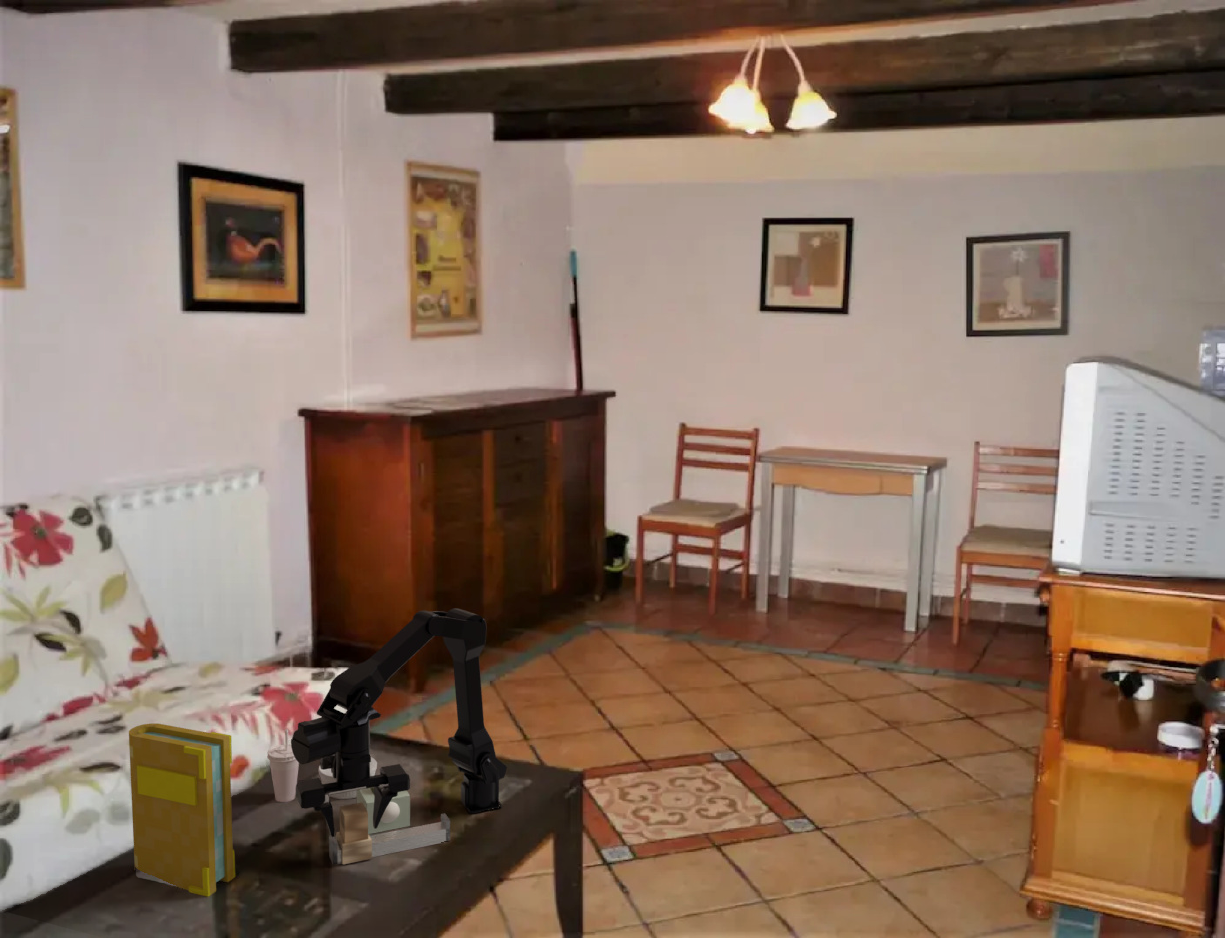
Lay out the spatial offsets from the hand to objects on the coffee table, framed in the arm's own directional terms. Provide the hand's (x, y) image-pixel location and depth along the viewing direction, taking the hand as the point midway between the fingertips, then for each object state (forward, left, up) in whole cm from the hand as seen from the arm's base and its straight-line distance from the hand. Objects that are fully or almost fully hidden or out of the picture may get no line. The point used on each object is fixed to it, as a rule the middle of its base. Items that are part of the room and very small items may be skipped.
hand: (353, 831), depth 187 cm
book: (+28, -5, -5) cm, 29 cm away
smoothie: (+7, -28, -5) cm, 29 cm away
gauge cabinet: (-8, -11, -5) cm, 14 cm away
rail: (-6, 0, -5) cm, 8 cm away
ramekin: (-5, -27, -5) cm, 28 cm away
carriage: (0, 0, -5) cm, 5 cm away
